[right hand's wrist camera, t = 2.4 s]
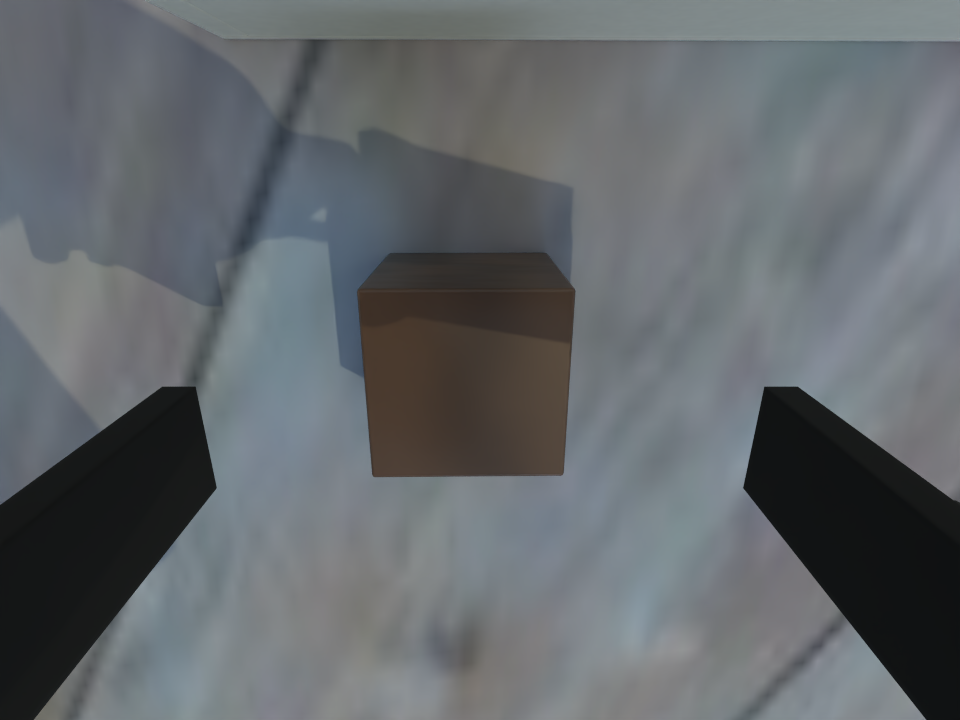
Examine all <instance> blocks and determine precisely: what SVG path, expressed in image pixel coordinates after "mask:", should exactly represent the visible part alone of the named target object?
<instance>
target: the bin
mask: <svg viewBox="0 0 960 720" xmlns="http://www.w3.org/2000/svg"><path fill="white" fill-rule="evenodd" d="M145 1H147V2H149V3H151V4H153V5H155V6H157V7H159V8H161V9H163V10H165V11H167V12H169V13H171V14H174V15H176V16H178V17H180V18H182V19H184V20H186V21H188V22H190V23H192V24H194V25H196V26H198V27H200V28H202V29H205V30H207V31H209V32H211V33H213V34H215V35H217V36H219V37H221V38H223V39H318V40H654V41H960V0H145Z"/></svg>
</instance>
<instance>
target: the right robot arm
mask: <svg viewBox="0 0 960 720" xmlns="http://www.w3.org/2000/svg"><path fill="white" fill-rule="evenodd" d="M216 488H217V487H216V482H215V478H214V473H213V468H212V463H211V458H210V454H209V449H208V444H207V439H206V435H205V430H204V425H203V420H202V415H201V411H200V406H199V401H198V396H197V392H196V387H161V388H160V389H159V390H157V391H156V392H154V393H153V394H152V395H150V396H149V397H148V398H146V399H145V400H144V401H142V402H141V403H139V404H138V405H137V406H135V407H134V408H133V409H131V410H130V411H128V412H127V413H126V414H124V415H123V416H122V417H120V418H119V419H117V420H116V421H115V422H113V423H112V424H111V425H109V426H108V427H107V428H105V429H104V430H102V431H101V432H100V433H98V434H97V435H96V436H94V437H93V438H91V439H90V440H89V441H87V442H86V443H85V444H83V445H82V446H80V447H79V448H78V449H76V450H75V451H74V452H72V453H71V454H70V455H68V456H67V457H65V458H64V459H63V460H61V461H60V462H59V463H57V464H56V465H54V466H53V467H52V468H50V469H49V470H48V471H46V472H45V473H44V474H42V475H41V476H39V477H38V478H37V479H35V480H34V481H33V482H31V483H30V484H28V485H27V486H26V487H24V488H23V489H22V490H20V491H19V492H17V493H16V494H15V495H13V496H12V497H11V498H9V499H8V500H7V501H5V502H4V503H2V504H1V505H0V720H34V719H35V717H36V716H37V715H38V714H39V712H40V711H41V710H42V708H43V707H44V706H45V705H46V703H47V702H48V701H49V700H50V698H51V697H52V696H53V695H54V693H55V692H56V691H57V689H58V688H59V687H60V686H61V684H62V683H63V682H64V681H65V679H66V678H67V677H68V676H69V674H70V673H71V672H72V670H73V669H74V668H75V667H76V665H77V664H78V663H79V662H80V660H81V659H82V658H83V657H84V655H85V654H86V653H87V652H88V650H89V649H90V648H91V646H92V645H93V644H94V643H95V641H96V640H97V639H98V638H99V636H100V635H101V634H102V633H103V631H104V630H105V629H106V627H107V626H108V625H109V624H110V622H111V621H112V620H113V619H114V617H115V616H116V615H117V614H118V612H119V611H120V610H121V608H122V607H123V606H124V605H125V603H126V602H127V601H128V600H129V598H130V597H131V596H132V595H133V593H134V592H135V591H136V590H137V588H138V587H139V586H140V584H141V583H142V582H143V581H144V579H145V578H146V577H147V576H148V574H149V573H150V572H151V571H152V569H153V568H154V567H155V565H156V564H157V563H158V562H159V560H160V559H161V558H162V557H163V555H164V554H165V553H166V552H167V550H168V549H169V548H170V546H171V545H172V544H173V543H174V541H175V540H176V539H177V538H178V536H179V535H180V534H181V533H182V531H183V530H184V529H185V527H186V526H187V525H188V524H189V522H190V521H191V520H192V519H193V517H194V516H195V515H196V514H197V512H198V511H199V510H200V509H201V507H202V506H203V505H204V503H205V502H206V501H207V500H208V498H209V497H210V496H211V495H212V493H213V492H214V491H215V490H216ZM743 488H744V490H745V491H746V492H747V493H748V495H749V496H750V497H751V498H752V500H753V501H754V502H755V503H756V505H757V506H758V507H759V509H760V510H761V511H762V512H763V514H764V515H765V516H766V517H767V519H768V520H769V521H770V522H771V524H772V525H773V526H774V527H775V529H776V530H777V531H778V533H779V534H780V535H781V536H782V538H783V539H784V540H785V541H786V543H787V544H788V545H789V546H790V548H791V549H792V550H793V552H794V553H795V554H796V555H797V557H798V558H799V559H800V560H801V562H802V563H803V564H804V565H805V567H806V568H807V569H808V571H809V572H810V573H811V574H812V576H813V577H814V578H815V579H816V581H817V582H818V583H819V584H820V586H821V587H822V588H823V590H824V591H825V592H826V593H827V595H828V596H829V597H830V598H831V600H832V601H833V602H834V603H835V605H836V606H837V607H838V608H839V610H840V611H841V612H842V614H843V615H844V616H845V617H846V619H847V620H848V621H849V622H850V624H851V625H852V626H853V627H854V629H855V630H856V631H857V633H858V634H859V635H860V636H861V638H862V639H863V640H864V641H865V643H866V644H867V645H868V646H869V648H870V649H871V650H872V652H873V653H874V654H875V655H876V657H877V658H878V659H879V660H880V662H881V663H882V664H883V665H884V667H885V668H886V669H887V670H888V672H889V673H890V674H891V676H892V677H893V678H894V679H895V681H896V682H897V683H898V684H899V686H900V687H901V688H902V689H903V691H904V692H905V693H906V695H907V696H908V697H909V698H910V700H911V701H912V702H913V703H914V705H915V706H916V707H917V708H918V710H919V711H920V712H921V714H922V715H923V716H924V717H925V719H926V720H960V503H959V502H957V501H953V500H952V499H951V498H949V497H948V496H947V495H945V494H944V493H943V492H941V491H940V490H938V489H937V488H936V487H934V486H933V485H932V484H930V483H929V482H927V481H926V480H925V479H923V478H922V477H921V476H919V475H918V474H916V473H915V472H914V471H912V470H911V469H910V468H908V467H907V466H906V465H904V464H903V463H901V462H900V461H899V460H897V459H896V458H895V457H893V456H892V455H890V454H889V453H888V452H886V451H885V450H884V449H882V448H881V447H880V446H878V445H877V444H875V443H874V442H873V441H871V440H870V439H869V438H867V437H866V436H864V435H863V434H862V433H860V432H859V431H858V430H856V429H855V428H853V427H852V426H851V425H849V424H848V423H847V422H845V421H844V420H843V419H841V418H840V417H838V416H837V415H836V414H834V413H833V412H832V411H830V410H829V409H827V408H826V407H825V406H823V405H822V404H821V403H819V402H818V401H816V400H815V399H814V398H812V397H811V396H810V395H808V394H807V393H806V392H804V391H803V390H801V389H800V388H799V387H764V392H763V396H762V401H761V406H760V411H759V415H758V420H757V425H756V430H755V435H754V439H753V444H752V449H751V454H750V458H749V463H748V468H747V473H746V478H745V482H744V487H743Z"/></svg>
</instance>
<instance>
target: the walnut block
mask: <svg viewBox="0 0 960 720" xmlns="http://www.w3.org/2000/svg"><path fill="white" fill-rule="evenodd" d="M357 296H358V308H359V320H360V332H361V344H362V357H363V369H364V381H365V393H366V405H367V417H368V429H369V441H370V453H371V465H372V475H373V477H440V476H561V475H563V473H564V459H565V443H566V428H567V412H568V397H569V381H570V365H571V350H572V334H573V319H574V303H575V289H574V288H573V286H572V285H571V284H570V282H569V281H568V280H567V279H566V277H565V276H564V275H563V274H562V272H561V271H560V270H559V269H558V267H557V266H556V265H555V263H554V262H553V261H552V260H551V258H550V257H549V256H548V255H547V254H546V253H390V254H388V256H387V257H386V258H385V259H384V260H383V261H382V262H381V264H380V265H379V266H378V267H377V268H376V269H375V270H374V272H373V273H372V274H371V275H370V276H369V277H368V278H367V280H366V281H365V282H364V283H363V284H362V285H361V286H360V288H359V289H358V291H357Z"/></svg>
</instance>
